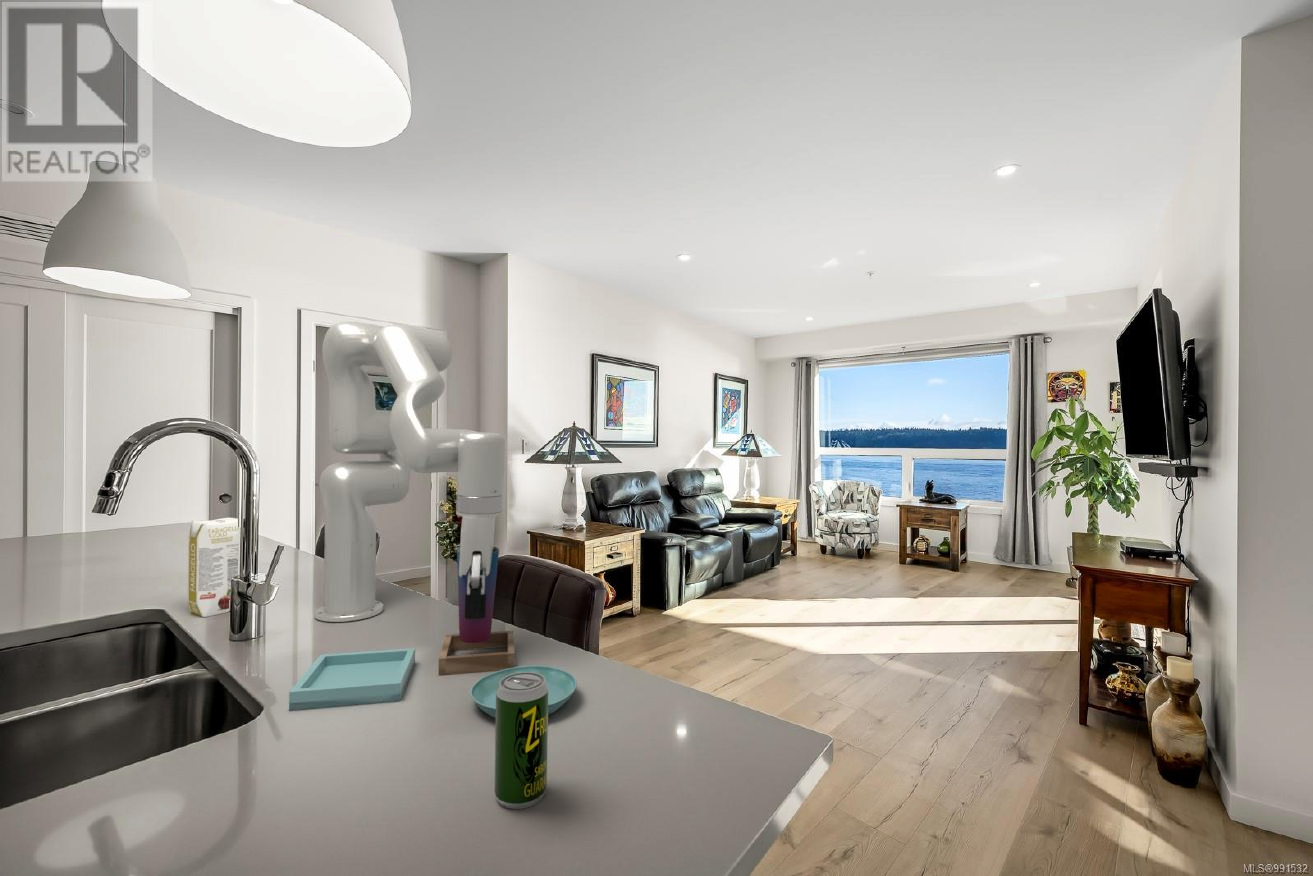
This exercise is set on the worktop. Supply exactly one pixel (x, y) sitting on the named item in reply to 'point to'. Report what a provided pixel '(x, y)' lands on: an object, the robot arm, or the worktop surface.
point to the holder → (477, 660)
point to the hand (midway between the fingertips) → (476, 610)
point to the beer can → (521, 739)
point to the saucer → (486, 687)
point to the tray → (353, 679)
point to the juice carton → (212, 565)
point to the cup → (482, 627)
